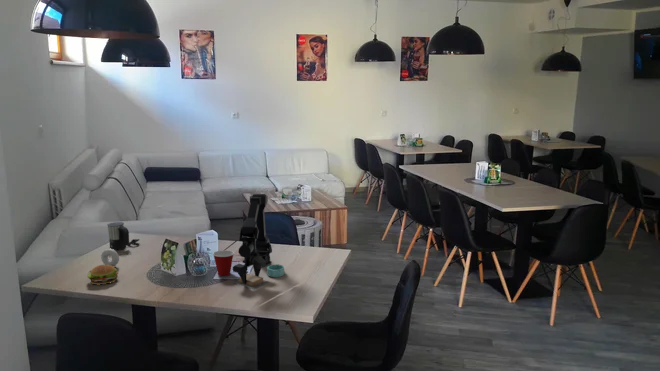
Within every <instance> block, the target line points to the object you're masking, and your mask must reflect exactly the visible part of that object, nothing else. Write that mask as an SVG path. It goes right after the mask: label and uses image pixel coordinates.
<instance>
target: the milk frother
mask: <svg viewBox="0 0 660 371" xmlns="http://www.w3.org/2000/svg"><path fill="white" fill-rule="evenodd" d="M124 224H125V222H121V221H115V222H110V223H107V225H106V226H107V232H108V233H107V234H108V240H109V249H110V248H111V249H119V250H123V249H126V248H127V246H129V245H131V244H133V243H134V244H136V243H137V242H139V241H140V239H139V238H138V239H137V238H134V239H131V241H130V232H129V229H128V228H127V227H126V226H125V225H124ZM125 247H126V248H125Z"/></svg>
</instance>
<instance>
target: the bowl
mask: <svg viewBox="0 0 660 371" xmlns="http://www.w3.org/2000/svg"><path fill="white" fill-rule="evenodd" d="M266 274H267V276H269V277H271V278H279V277H282V276H284V275H285V265H282V264H278V263H277V264H275V263H274V264H270V265H268V266H266Z"/></svg>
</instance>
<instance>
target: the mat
mask: <svg viewBox="0 0 660 371" xmlns="http://www.w3.org/2000/svg"><path fill="white" fill-rule="evenodd" d="M268 283H269V281H268V280H264V279H263V283H261V284H259V285H257V286H255V287H253V286H249V285H246V284H243V283H239V279H238V280H237V281H234V282H233V284H234V285H238V286H240V287H244V288H248V289H251V290H256V289H258V288H260V287H263V286H264V285H266V284H268Z"/></svg>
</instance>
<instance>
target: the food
mask: <svg viewBox="0 0 660 371" xmlns="http://www.w3.org/2000/svg"><path fill="white" fill-rule="evenodd" d="M115 267H116V266H114V267H113V266H111V265H105V264H101V265H97V266H94V267H93V268H92V269H91V270H89V272H88V273H87V279H89V281H90V283H91V285H93V284H97V285H96V286H101V285H100V284H106V283H110V282H112V283H114V282H115V280H116V281H117V278H118V274H119V271H118V269H117V268H115ZM113 281H114V282H113ZM110 284H111V283H110ZM106 285H107V284H106Z"/></svg>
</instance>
